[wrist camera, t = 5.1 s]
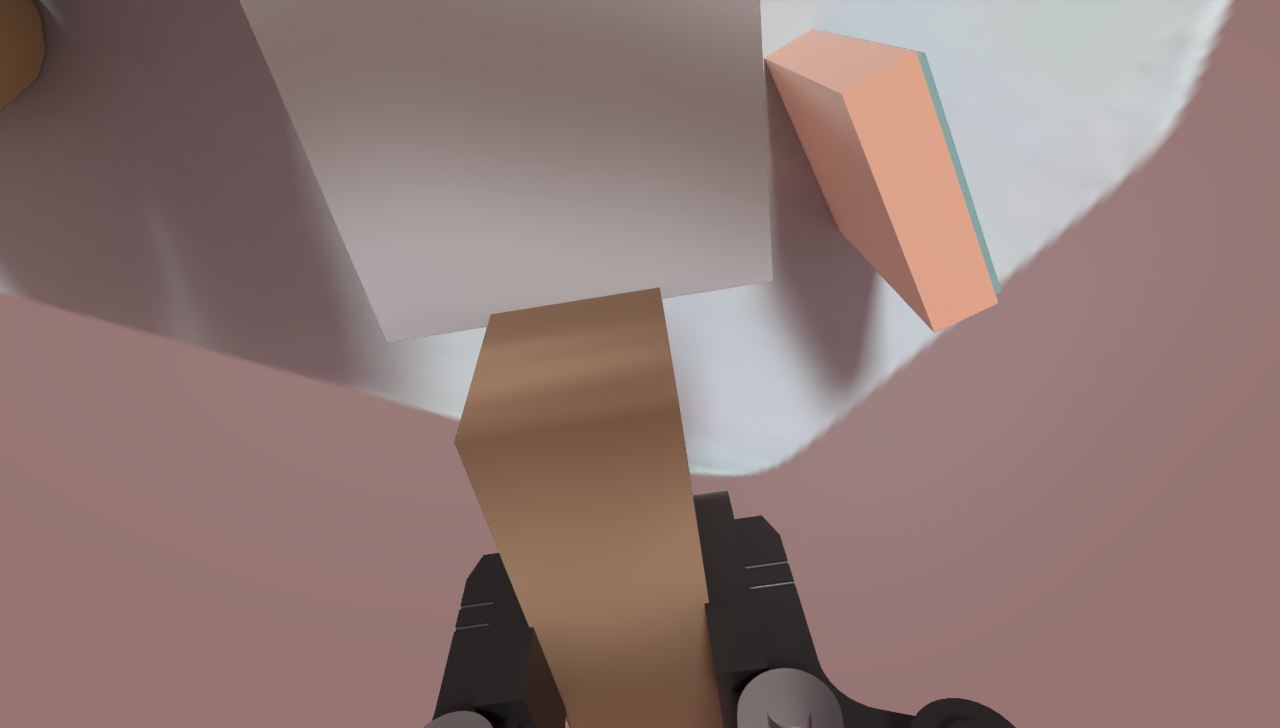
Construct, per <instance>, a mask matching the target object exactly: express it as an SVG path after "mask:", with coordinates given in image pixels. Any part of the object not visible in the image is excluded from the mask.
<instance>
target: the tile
mask: <svg viewBox="0 0 1280 728" xmlns="http://www.w3.org/2000/svg"><path fill="white" fill-rule="evenodd" d="M764 59H765V61H766V63H767V66H768V68H769V70H770V73H771V75H772V77H773V80H774V82H775V84H776V87H777V89H778V91H779V93H780V96H781V98H782V100H783V103H784V105H785V107H786V110H787V112H788V114H789V116H790V119H791V121H792V123H793V126H794V128H795V130H796V133H797V135H798V137H799V140H800V142H801V144H802V146H803V149H804V151H805V153H806V156H807V158H808V160H809V163H810V165H811V167H812V169H813V172H814V174H815V176H816V179H817V181H818V183H819V186H820V188H821V190H822V193H823V195H824V197H825V199H826V202H827V204H828V206H829V209H830V211H831V213H832V216H833V218H834V220H835V222H836V225H837V227H838V229H839V231H840V232H841V233H842V234H843V235H844V236H845V237H846V239H847V240H848V241H849V242H850V243H851V244H852V245H853V246H854V247H855V248H856V249H857V250H858V251H859V252H860V254H861V255H862V256H863V257H864V258H865V259H866V260H867V261H868V262H869V263H870V264H871V265H872V266H873V268H874V269H875V270H876V271H877V272H878V273H879V274H880V275H881V276H882V277H883V278H884V279H885V280H886V281H887V283H888V284H889V285H890V286H891V287H892V288H893V289H894V290H895V291H896V292H897V293H898V294H899V295H900V296H901V298H902V299H903V300H904V301H905V302H906V303H907V304H908V305H909V306H910V307H911V308H912V309H913V310H914V312H915V313H916V314H917V315H918V316H919V317H920V318H921V319H922V320H923V321H924V322H925V323H926V324H927V325H928V327H929V328H930V329H931V330H932V331H933V332H934V333H936V332H938V331H940V330H942V329H944V328H947V327H949V326H951V325H953V324H955V323H957V322H959V321H961V320H963V319H966V318H968V317H970V316H972V315H974V314H976V313H978V312H980V311H982V310H984V309H987V308H989V307H991V306H993V305H995V304H997V303H998V301H997V298H996V295H995V294H997V293H999V292H1001V289H1000V286H999V283H998V279H997V276H996V273H995V270H994V267H993V264H992V261H991V258H990V254H989V251H988V248H987V245H986V242H985V239H984V236H983V233H982V229H981V226H980V223H979V220H978V217H977V214H976V211H975V207H974V204H973V201H972V198H971V195H970V192H969V189H968V186H967V182H966V179H965V176H964V173H963V170H962V167H961V164H960V161H959V157H958V154H957V151H956V148H955V145H954V142H953V139H952V136H951V132H950V129H949V126H948V123H947V120H946V117H945V114H944V110H943V107H942V104H941V101H940V98H939V95H938V92H937V89H936V85H935V82H934V79H933V76H932V73H931V70H930V67H929V64H928V60H927V57H926V54H925V53H924V52H919V51H915V50H910V49H905V48H900V47H895V46H891V45H886V44H881V43H876V42H871V41H867V40H862V39H857V38H852V37H848V36H843V35H838V34H833V33H828V32H824V31H818V30H813V29H811V30H810V31H808V32H806V33H805V34H803V35H801V36H800V37H798V38H797V39H795V40H793V41H792V42H790V43H788V44H787V45H785V46H783V47H782V48H780V49H778V50H777V51H775V52H773V53H772V54H770V55H768V56H767V57H765V58H764Z"/></svg>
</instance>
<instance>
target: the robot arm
mask: <svg viewBox="0 0 1280 728" xmlns="http://www.w3.org/2000/svg"><path fill="white" fill-rule="evenodd" d="M693 500H694V507H695V513H696V520H697V526H698V533H699V539H700V546H701V553H702V559H703V566H704V572H705V579H706V586H707V592H708V599H709V603H705V610H706V616H707V623H708V630H709V636H710V643H711V649H712V656H713V663H714V669H715V676H716V682H717V688H718V695H719V701H720V708H721V714H722V720H723V727H724V728H1015V727H1014V726H1013V725H1012V724H1011V723H1010V722H1009V721H1008V720H1006V719H1005V718H1004V717H1003V716H1001V715H1000V714H999V713H997V712H995V711H994V710H992V709H990V708H989V707H986V706H984V705H982V704H980V703H977V702H973V701H970V700H965V699H960V698H947V699H940V700H937V701H934V702H931V703H930V704H928V705H926V706H924V707H923V708H922V709H921V710H920V711H919V712H918V713H917V715H916V716H912V715H906V714H901V713H896V712H891V711H886V710H880V709H875V708H872V707H868V706H865V705H863V704H860V703H858V702H856V701H854V700H852V699H850V698H849V697H847V696H846V695H844V694H843V693H842V692H840V691H839V690H838V689H837V688H836V687H835V686H834V685H833V684H832V683H831V682H830V681H829V679H828V678H827V677H826V675H825V674H824V672H823V670H822V668H821V666H820V663H819V661H818V658H817V655H816V651H815V648H814V645H813V641H812V638H811V635H810V632H809V629H808V625H807V622H806V619H805V615H804V612H803V609H802V606H801V602H800V599H799V596H798V593H797V589H796V586H795V585H794V580H793V576H792V573H791V570H790V567H789V565H788V561H787V557H786V554H785V551H784V548H783V544H782V541H781V537H780V535H779V534H778V533H777V531H776V530H775V529H774V528H773V527H772V526H771V525H770V524H769V523H768V522H767V521H766V520H765V519H764V518H763V517H762V516H755V517H748V518H741V519H734V516H733V511H732V507H731V503H730V498H729V494H728V491H722V492H715V493H708V494H701V495H694V496H693ZM565 718H566V708H565V705H564V703H563V700H562V698H561V695H560V693H559V690H558V688H557V685H556V683H555V680H554V678H553V675H552V672H551V670H550V667H549V665H548V662H547V660H546V657H545V655H544V652H543V650H542V647H541V645H540V642H539V640H538V637H537V635H536V632H535V630H534V627H531V628H529V626H528V623H527V621H526V618H525V616H524V613H523V611H522V608H521V606H520V603H519V601H518V598H517V596H516V593H515V591H514V588H513V586H512V584H511V581H510V579H509V576H508V574H507V571H506V569H505V566H504V564H503V561H502V559H501V556H500V554H499V553H495V554H488V555H483V557H482V558H481V560H480V561H479V563H478V564H477V565H476V567H475V568H474V570H473V571H472V573H471V574H470V575H469V577H468V578H467V581H466V585H465V589H464V593H463V597H462V602H461V610H459V614H458V618H457V623H456V632H454V635H453V639H452V643H451V647H450V651H449V656H448V660H447V664H446V668H445V672H444V676H443V680H442V685H441V689H440V693H439V697H438V701H437V705H436V710H435V713H434V716H433V719H432V722H430V723H429V724H427V725H426V726H425V727H424V728H565V720H566V719H565Z"/></svg>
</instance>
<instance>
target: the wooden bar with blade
mask: <svg viewBox="0 0 1280 728" xmlns="http://www.w3.org/2000/svg"><path fill="white" fill-rule="evenodd" d="M239 1H240V3H241V6H242V8H243V10H244V13H245V15H246V17H247V20H248V22H249V24H250V26H251V29H252V31H253V33H254V36H255V38H256V40H257V43H258V45H259V47H260V50H261V52H262V54H263V57H264V59H265V61H266V64H267V66H268V68H269V70H270V73H271V75H272V77H273V80H274V82H275V84H276V87H277V89H278V91H279V94H280V96H281V98H282V101H283V103H284V105H285V108H286V110H287V112H288V115H289V117H290V119H291V121H292V124H293V126H294V128H295V131H296V133H297V135H298V138H299V140H300V142H301V145H302V147H303V149H304V152H305V154H306V156H307V159H308V161H309V163H310V166H311V168H312V170H313V172H314V175H315V177H316V179H317V182H318V184H319V186H320V189H321V191H322V193H323V196H324V198H325V200H326V203H327V205H328V207H329V210H330V212H331V214H332V217H333V219H334V221H335V223H336V226H337V228H338V230H339V233H340V235H341V237H342V240H343V242H344V244H345V247H346V249H347V251H348V254H349V256H350V258H351V261H352V263H353V265H354V268H355V270H356V272H357V274H358V277H359V279H360V281H361V284H362V286H363V288H364V291H365V293H366V295H367V298H368V300H369V302H370V305H371V307H372V309H373V312H374V314H375V316H376V319H377V321H378V323H379V325H380V328H381V330H382V332H383V335H384V337H385V339H386V342H387V343H389V342H395V341H401V340H407V339H414V338H420V337H426V336H432V335H439V334H445V333H451V332H457V331H464V330H470V329H476V328H482V327H487V329H486V333H485V336H484V340H483V343H482V347H481V350H480V354H479V357H478V361H477V364H476V368H475V371H474V375H473V378H472V382H471V386H470V389H469V393H468V396H467V400H466V403H465V407H464V410H463V414H462V417H461V421H460V424H459V428H458V431H457V435H456V438H455V442H454V443H455V445H456V448H457V450H458V453H459V455H460V457H461V460H462V462H463V465H464V467H465V470H466V472H467V475H468V477H469V480H470V482H471V485H472V487H473V490H474V492H475V495H476V497H477V499H478V502H479V504H480V507H481V509H482V512H483V514H484V516H485V519H486V522H487V524H488V526H489V529H490V531H491V534H492V536H493V539H494V541H495V544H496V546H497V549H498V551H499V554H500V556H501V559H502V561H503V564H504V566H505V569H506V571H507V574H508V576H509V579H510V581H511V584H512V586H513V588H514V591H515V593H516V596H517V598H518V601H519V603H520V606H521V608H522V611H523V613H524V616H525V618H526V621H527V623H528V626H529V628H531V627H534V630H535V632H536V635H537V637H538V640H539V642H540V645H541V647H542V650H543V652H544V655H545V657H546V660H547V662H548V665H549V667H550V670H551V672H552V675H553V678H554V680H555V683H556V685H557V688H558V690H559V693H560V695H561V698H562V700H563V703H564V705H565V708H566V719H567V722H568V724H569V727H570V728H724V727H723V720H722V714H721V708H720V701H719V695H718V688H717V682H716V676H715V669H714V663H713V656H712V649H711V643H710V636H709V630H708V623H707V616H706V610H705V603H709V599H708V592H707V586H706V579H705V572H704V566H703V559H702V553H701V546H700V539H699V533H698V526H697V520H696V513H695V507H694V500H693V493H692V487H691V480H690V474H689V467H688V460H687V454H686V447H685V441H684V434H683V428H682V421H681V414H680V408H679V402H678V396H677V389H676V383H675V377H674V371H673V365H672V359H671V353H670V347H669V340H668V334H667V328H666V322H665V316H664V310H663V304H662V299H664V298H670V297H676V296H683V295H689V294H695V293H701V292H708V291H714V290H720V289H727V288H733V287H739V286H745V285H752V284H758V283H764V282H770V281H773V270H772V249H771V228H770V206H769V185H768V164H767V142H766V121H765V100H764V78H763V57H762V36H761V14H760V0H239Z"/></svg>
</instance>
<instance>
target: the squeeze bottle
mask: <svg viewBox="0 0 1280 728" xmlns="http://www.w3.org/2000/svg"><path fill="white" fill-rule="evenodd" d="M45 53H46V48H45V42H44V35H43V29H42V22H41V17H40V15H39V13H38V11H37V9H36V7H35V5H34V3H33V1H32V0H0V111H1V110H2V109H3V108H5V107H6V106H7V105H8V104H9V103H10V102H11V101H13V100H14V99H15V98H16V97H17V96H18V95H19V94H20V93H22V92H23V91H24V90H25V89H26V88H27V87H28V86H29V85H31V84H32V83H33V82H34V81H35V80H36V79H37V78H38V75H39V72H40V69H41V66H42V63H43V59H44V56H45Z"/></svg>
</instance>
